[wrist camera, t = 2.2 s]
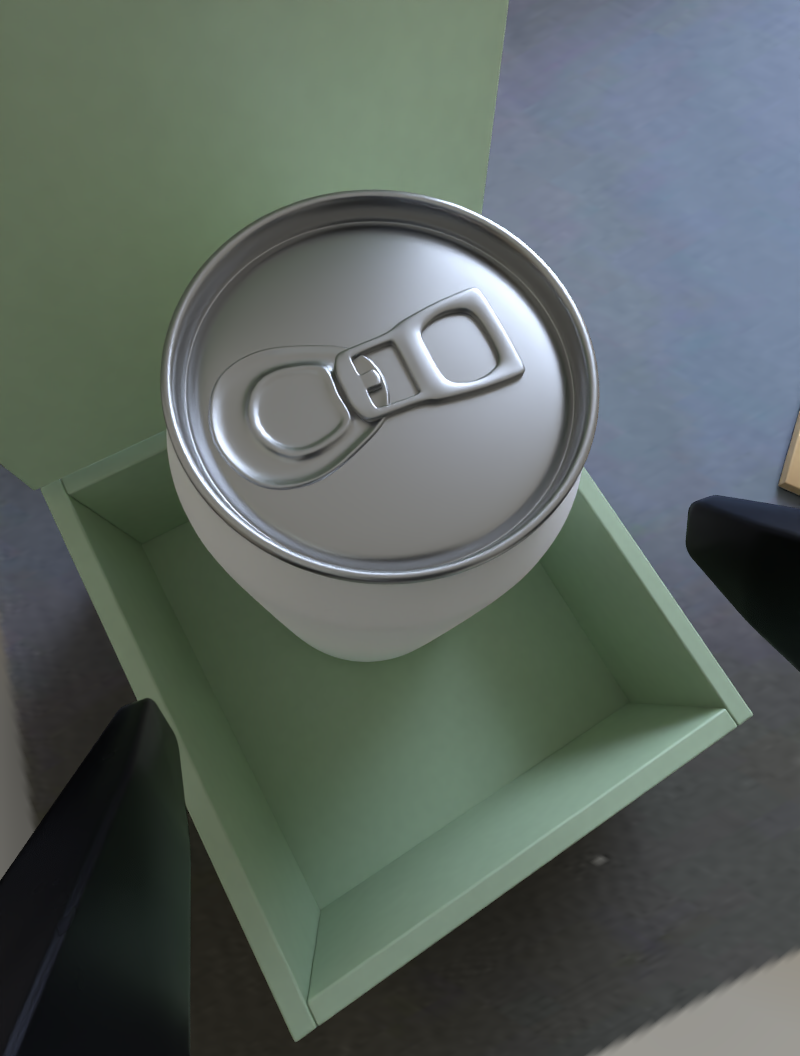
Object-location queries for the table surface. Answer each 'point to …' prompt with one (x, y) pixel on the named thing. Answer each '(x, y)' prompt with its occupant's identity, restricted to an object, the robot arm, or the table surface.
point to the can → (377, 415)
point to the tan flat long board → (792, 463)
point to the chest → (390, 728)
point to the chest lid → (196, 172)
